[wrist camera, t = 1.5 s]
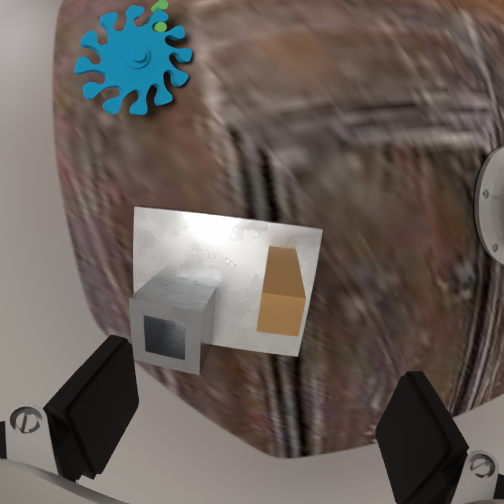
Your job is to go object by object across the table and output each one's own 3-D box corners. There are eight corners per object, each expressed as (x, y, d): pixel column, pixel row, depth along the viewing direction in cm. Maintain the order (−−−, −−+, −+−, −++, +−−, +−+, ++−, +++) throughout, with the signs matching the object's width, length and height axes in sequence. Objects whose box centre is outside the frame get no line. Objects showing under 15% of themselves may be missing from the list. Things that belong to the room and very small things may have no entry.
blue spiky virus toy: (165, 133, 22) (53, 91, 15) (142, 133, 26) (51, 101, 19) (218, 27, 20) (125, -24, 13) (187, 42, 25) (107, 3, 18)
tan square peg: (296, 249, 24) (306, 298, 14) (291, 275, 25) (298, 336, 15) (269, 245, 24) (261, 292, 15) (265, 271, 25) (256, 331, 15)
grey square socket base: (321, 228, 24) (333, 243, 19) (297, 351, 27) (299, 390, 22) (138, 205, 25) (104, 214, 20) (138, 324, 28) (112, 354, 23)
